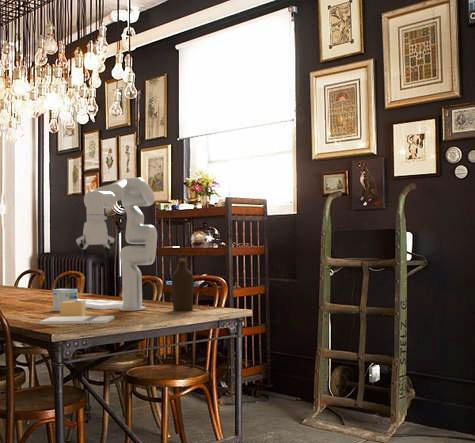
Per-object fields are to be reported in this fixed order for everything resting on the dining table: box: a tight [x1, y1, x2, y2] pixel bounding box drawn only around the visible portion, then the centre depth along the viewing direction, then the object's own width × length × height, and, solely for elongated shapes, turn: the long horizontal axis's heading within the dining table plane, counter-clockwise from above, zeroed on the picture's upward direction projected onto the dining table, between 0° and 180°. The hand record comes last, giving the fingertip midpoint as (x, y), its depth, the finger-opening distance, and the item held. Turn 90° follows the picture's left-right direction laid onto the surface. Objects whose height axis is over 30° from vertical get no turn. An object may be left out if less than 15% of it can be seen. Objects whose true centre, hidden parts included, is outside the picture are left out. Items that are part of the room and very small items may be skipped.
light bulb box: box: [52, 288, 79, 312], centre depth 320 cm, size 11×7×11 cm, turn 65°
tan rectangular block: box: [59, 301, 87, 316], centre depth 293 cm, size 6×10×7 cm, turn 88°
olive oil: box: [171, 258, 195, 312], centre depth 312 cm, size 11×11×25 cm
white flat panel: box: [39, 315, 115, 325], centre depth 277 cm, size 16×28×1 cm, turn 88°
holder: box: [78, 298, 123, 311], centre depth 344 cm, size 45×18×3 cm, turn 41°
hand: (95, 258), depth 280 cm, fingers open, 9 cm apart
